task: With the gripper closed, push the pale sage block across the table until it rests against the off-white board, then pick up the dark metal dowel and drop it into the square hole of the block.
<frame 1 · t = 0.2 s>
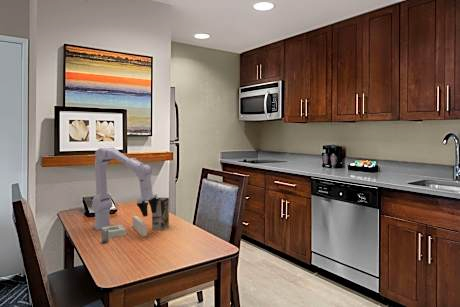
hand: (149, 214, 168), 10 cm above the table, tool pointing down, fingers open, 7 cm apart
dowel: (105, 242, 156), on the table
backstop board: (139, 231, 174), on the table
socket block: (113, 234, 169), on the table
coffee box: (160, 228, 181), on the table
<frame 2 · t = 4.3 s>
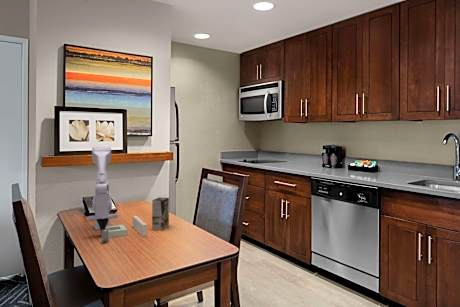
hand: (102, 233, 166), 1 cm above the table, tool pointing down, fingers closed
socket block: (115, 233, 169), on the table, touching gripper
everything else where it was.
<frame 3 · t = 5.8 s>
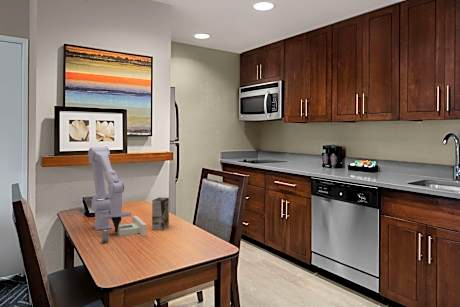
hand: (116, 231, 169), 1 cm above the table, tool pointing down, fingers closed
socket block: (127, 232, 172), on the table, touching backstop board, gripper
everything else where it was.
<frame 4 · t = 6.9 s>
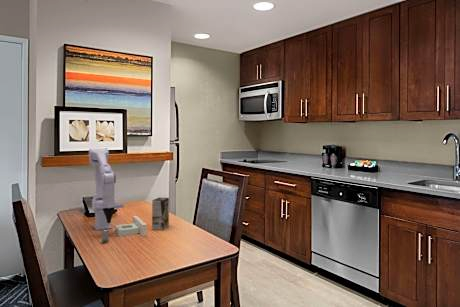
hand: (108, 222, 167), 6 cm above the table, tool pointing down, fingers closed
socket block: (127, 232, 172), on the table
everything else where it was.
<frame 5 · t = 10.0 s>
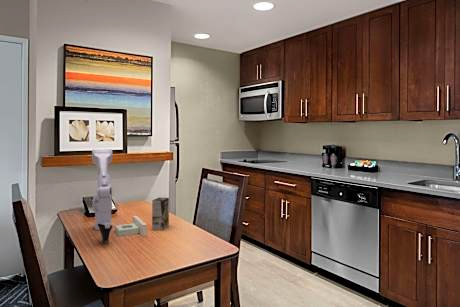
hand: (105, 239, 156), 1 cm above the table, tool pointing down, fingers closed on dowel, 3 cm apart
dowel: (105, 242, 156), on the table, touching gripper
everything else where it was.
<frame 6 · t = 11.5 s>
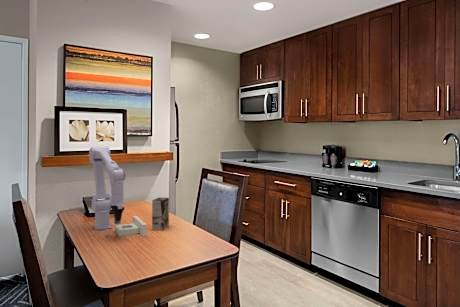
hand: (117, 220, 164), 8 cm above the table, tool pointing down, fingers closed on dowel, 3 cm apart
dowel: (117, 223, 164), point 7 cm above the table, touching gripper
everything else where it was.
when the fingers open (4 cm above the table, at t = 13.2 s): dowel drops 2 cm, resting in socket block.
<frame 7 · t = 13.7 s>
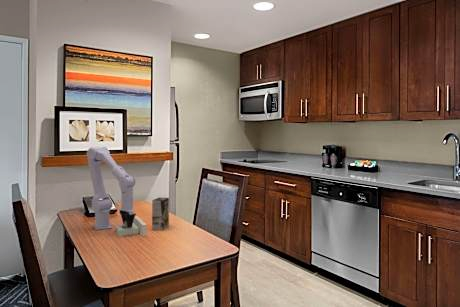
hand: (127, 225, 172), 4 cm above the table, tool pointing down, fingers open, 7 cm apart
dowel: (127, 232, 172), resting in socket block
everything else where it was.
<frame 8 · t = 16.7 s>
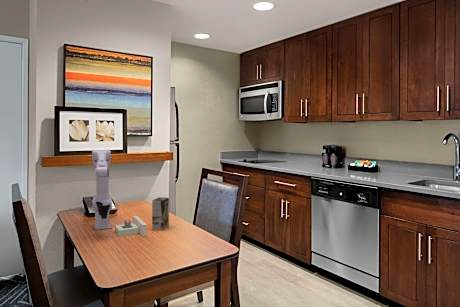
hand: (102, 216, 166), 9 cm above the table, tool pointing down, fingers open, 7 cm apart
nothing on the table moved.
at the end: socket block inside the target area (0.3 cm from its centre), on the table; dowel 0.3 cm off-centre on the socket block, point 0.0 cm above the socket block's base; dowel tilted 0° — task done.
